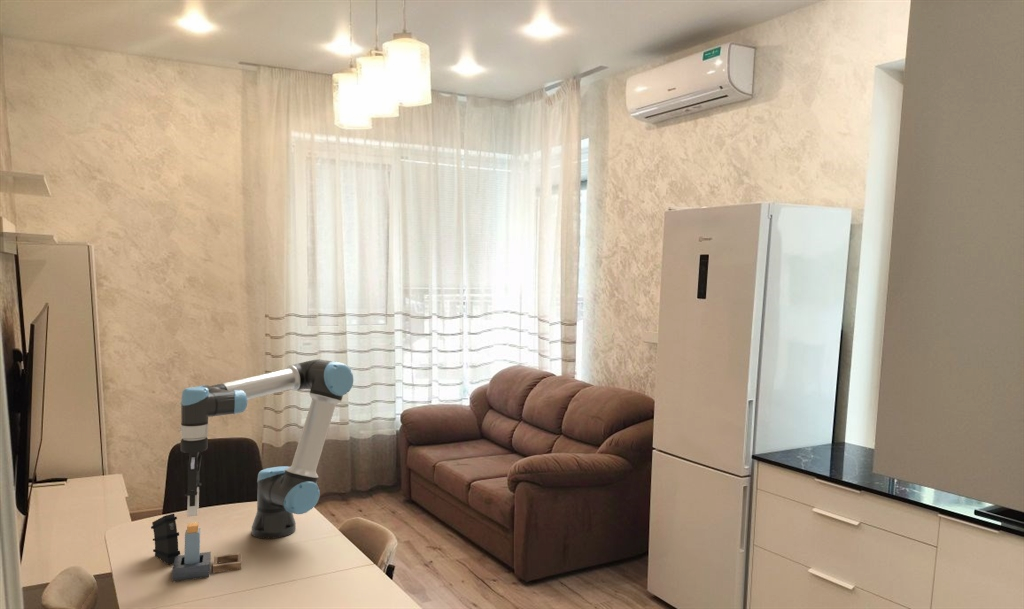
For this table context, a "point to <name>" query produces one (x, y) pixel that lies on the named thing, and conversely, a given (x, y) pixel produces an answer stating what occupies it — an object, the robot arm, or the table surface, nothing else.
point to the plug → (192, 544)
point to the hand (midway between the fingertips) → (193, 511)
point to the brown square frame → (227, 565)
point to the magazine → (166, 538)
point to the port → (191, 568)
